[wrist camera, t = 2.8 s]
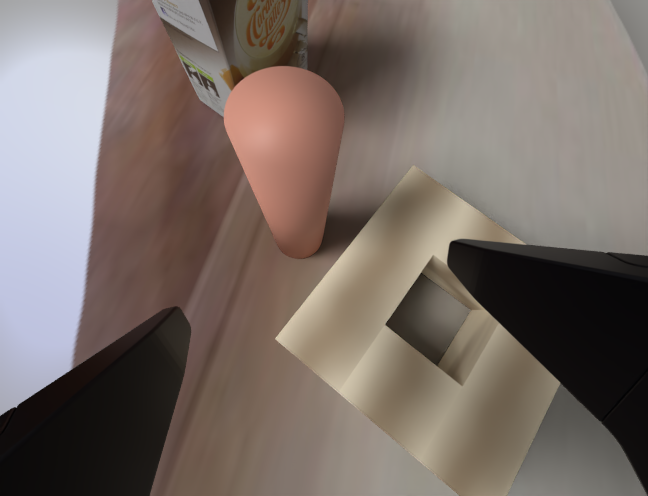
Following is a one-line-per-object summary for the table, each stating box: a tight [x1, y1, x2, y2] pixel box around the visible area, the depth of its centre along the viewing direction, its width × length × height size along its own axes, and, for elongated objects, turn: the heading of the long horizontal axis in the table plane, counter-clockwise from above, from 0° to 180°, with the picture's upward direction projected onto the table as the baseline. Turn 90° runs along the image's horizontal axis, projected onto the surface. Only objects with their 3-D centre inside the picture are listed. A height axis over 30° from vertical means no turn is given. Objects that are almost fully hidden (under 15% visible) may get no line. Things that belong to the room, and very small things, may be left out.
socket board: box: [275, 165, 560, 496], centre depth 19 cm, size 16×16×4 cm
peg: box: [224, 66, 345, 259], centre depth 16 cm, size 4×4×14 cm
